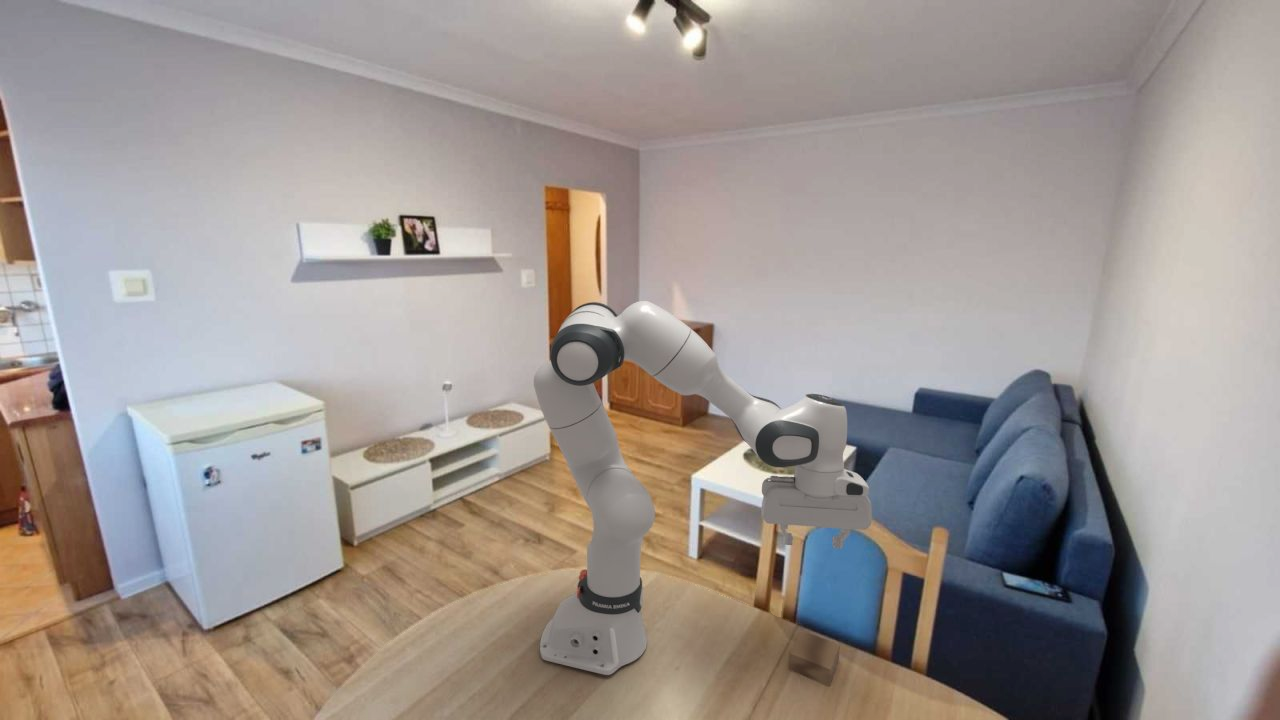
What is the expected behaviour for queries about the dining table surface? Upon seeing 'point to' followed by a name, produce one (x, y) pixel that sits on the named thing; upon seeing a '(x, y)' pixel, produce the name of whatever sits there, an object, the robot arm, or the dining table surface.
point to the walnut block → (814, 657)
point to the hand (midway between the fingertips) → (812, 545)
